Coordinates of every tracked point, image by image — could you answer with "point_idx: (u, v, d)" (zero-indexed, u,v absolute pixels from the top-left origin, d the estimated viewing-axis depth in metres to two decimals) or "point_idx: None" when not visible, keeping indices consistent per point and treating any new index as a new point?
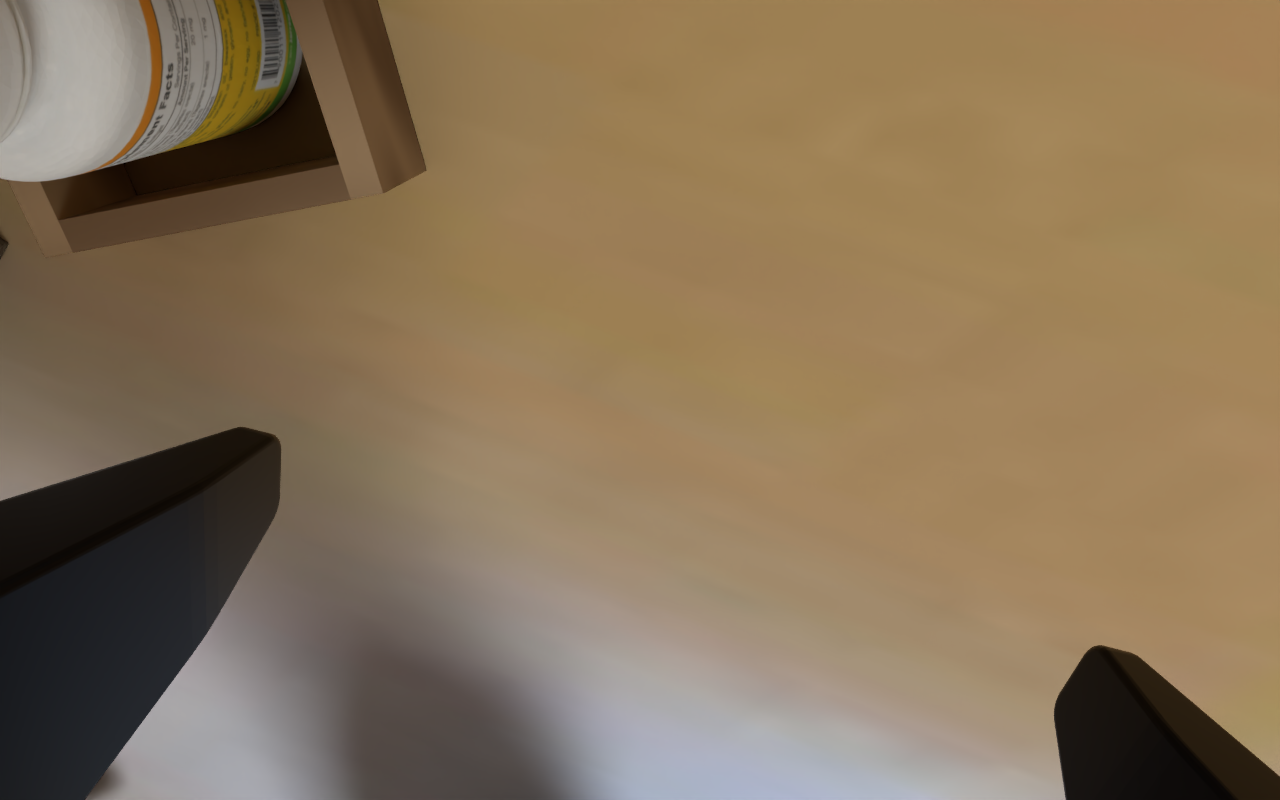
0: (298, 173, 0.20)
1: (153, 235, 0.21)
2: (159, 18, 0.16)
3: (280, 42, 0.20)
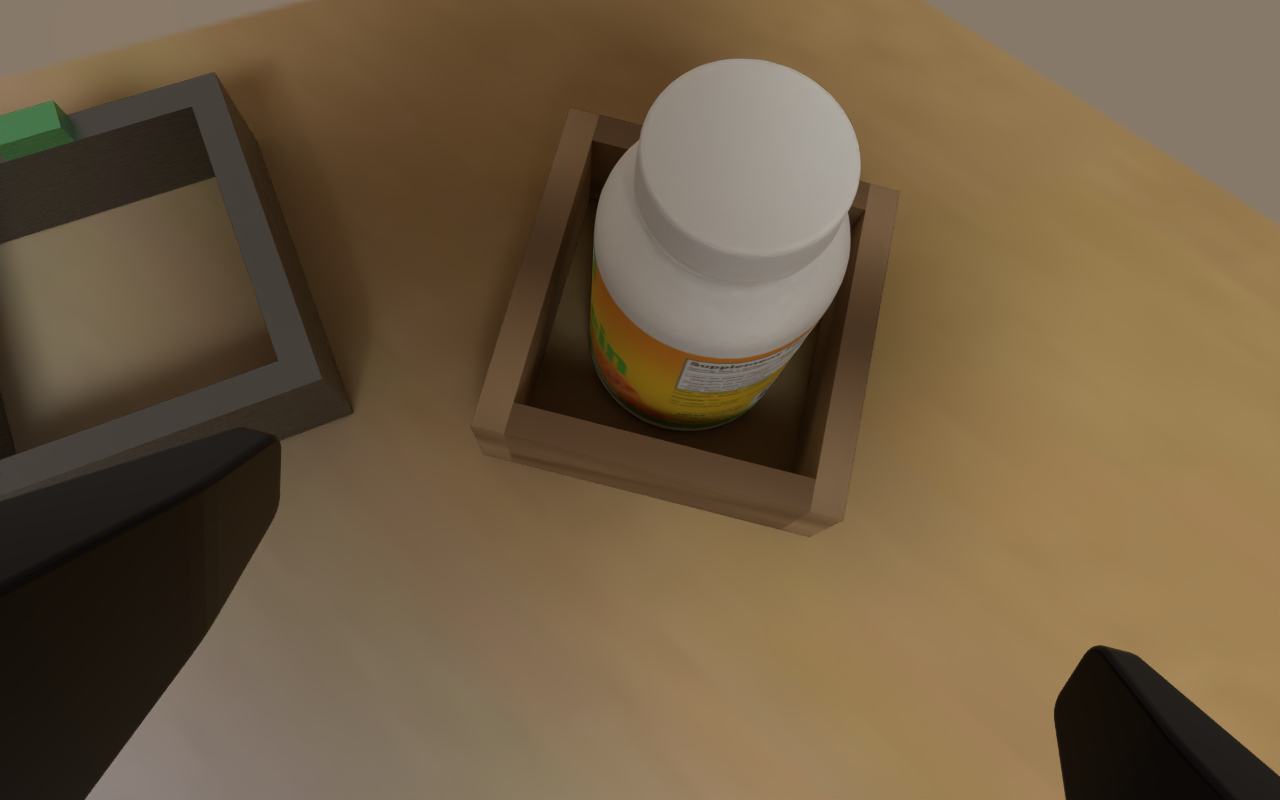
0: (774, 469, 0.20)
1: (598, 455, 0.20)
2: None
3: None
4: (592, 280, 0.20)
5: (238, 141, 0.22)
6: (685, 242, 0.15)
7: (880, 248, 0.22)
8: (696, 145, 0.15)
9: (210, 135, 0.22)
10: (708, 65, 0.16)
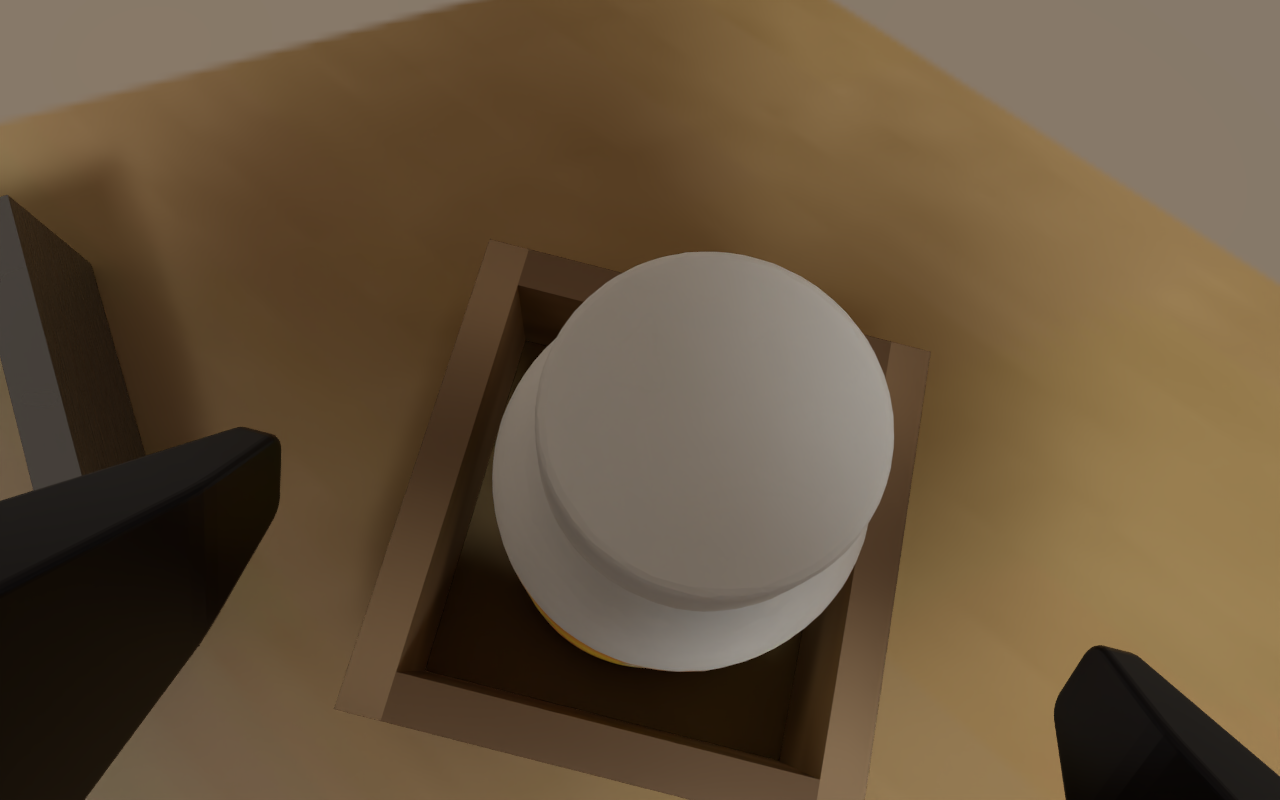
0: (761, 766, 0.15)
1: (513, 752, 0.14)
2: None
3: None
4: None
5: (33, 292, 0.16)
6: (609, 568, 0.09)
7: (905, 434, 0.16)
8: (628, 403, 0.09)
9: None
10: (651, 265, 0.10)
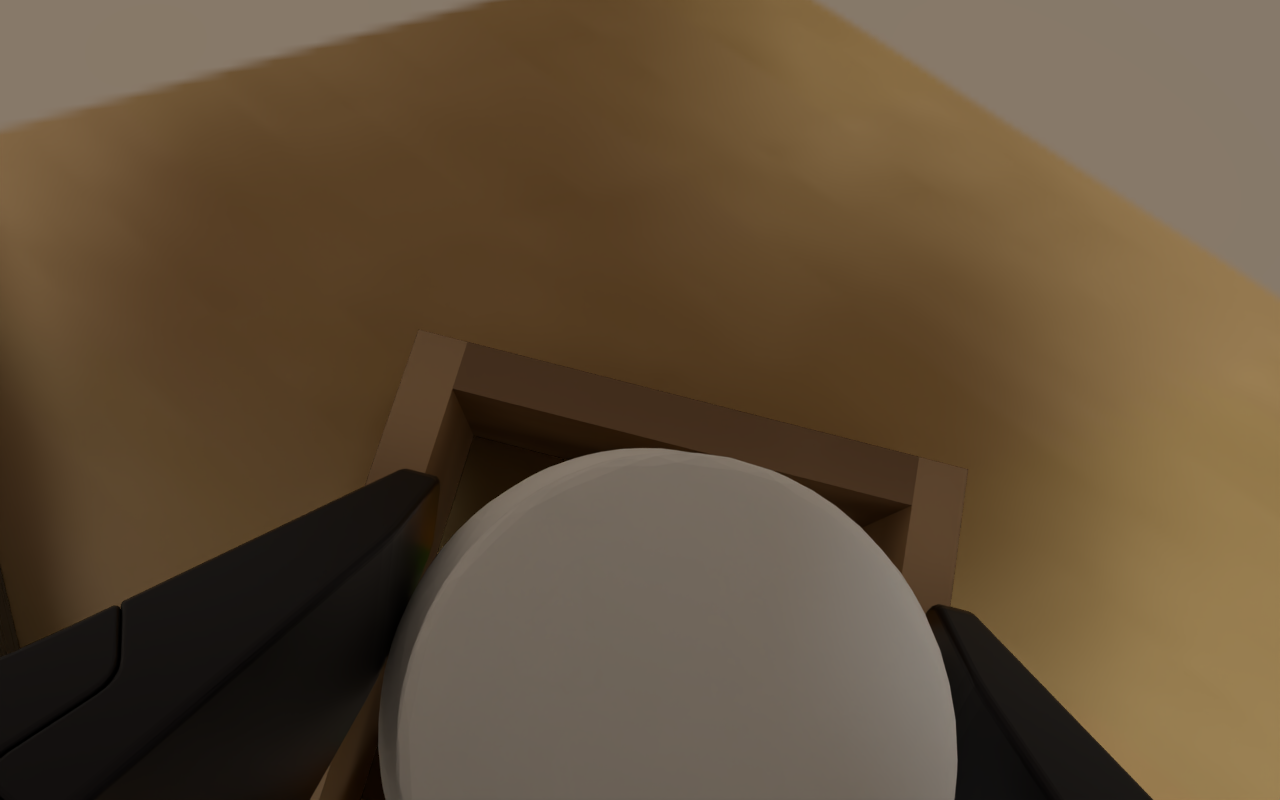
0: None
1: None
2: None
3: None
4: None
5: None
6: None
7: (938, 577, 0.13)
8: (542, 712, 0.06)
9: None
10: (583, 479, 0.06)
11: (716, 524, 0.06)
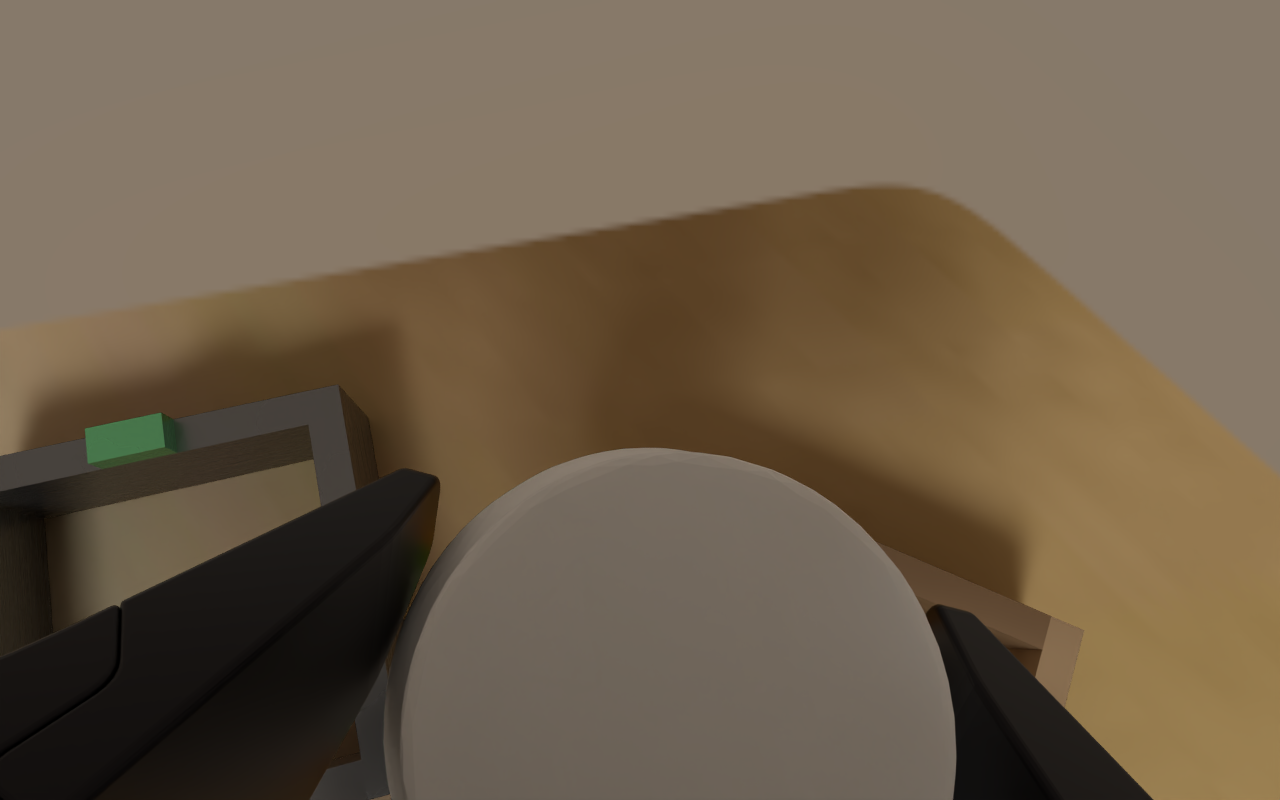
0: None
1: None
2: None
3: None
4: None
5: (352, 474, 0.20)
6: None
7: None
8: (545, 710, 0.06)
9: (323, 463, 0.20)
10: (585, 478, 0.06)
11: (716, 523, 0.06)
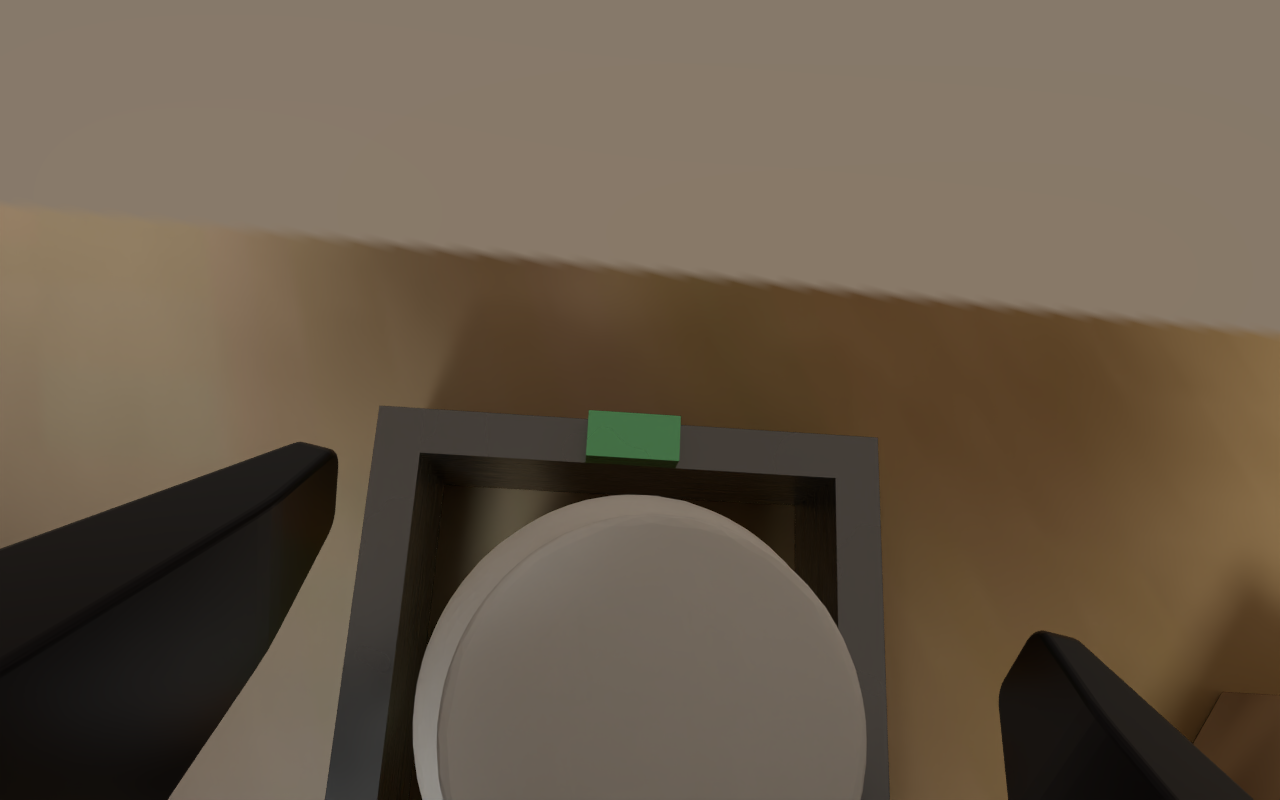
0: None
1: None
2: None
3: None
4: None
5: (880, 557, 0.15)
6: None
7: None
8: (547, 719, 0.08)
9: (847, 533, 0.15)
10: (579, 536, 0.08)
11: (682, 571, 0.08)
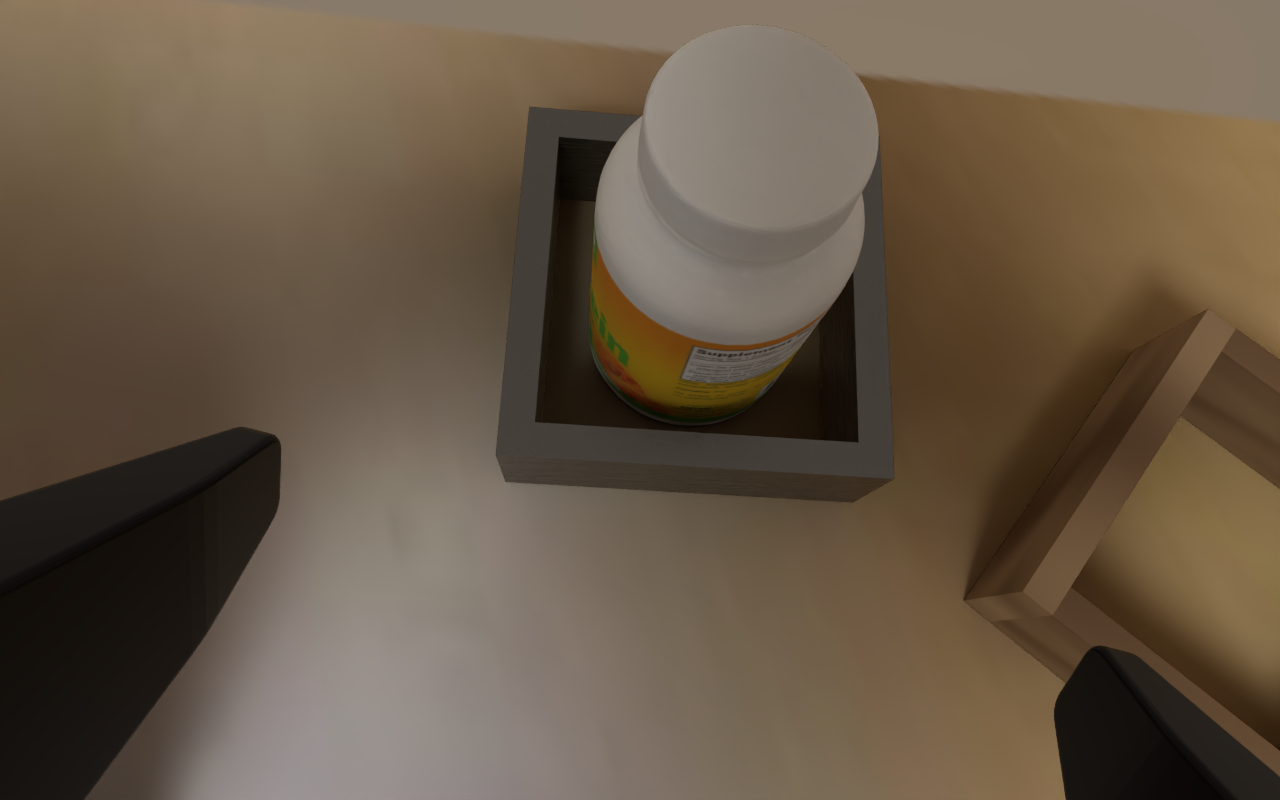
0: None
1: None
2: None
3: None
4: (592, 266, 0.19)
5: (881, 211, 0.22)
6: (694, 218, 0.14)
7: None
8: (704, 114, 0.14)
9: None
10: (716, 32, 0.15)
11: (774, 50, 0.15)
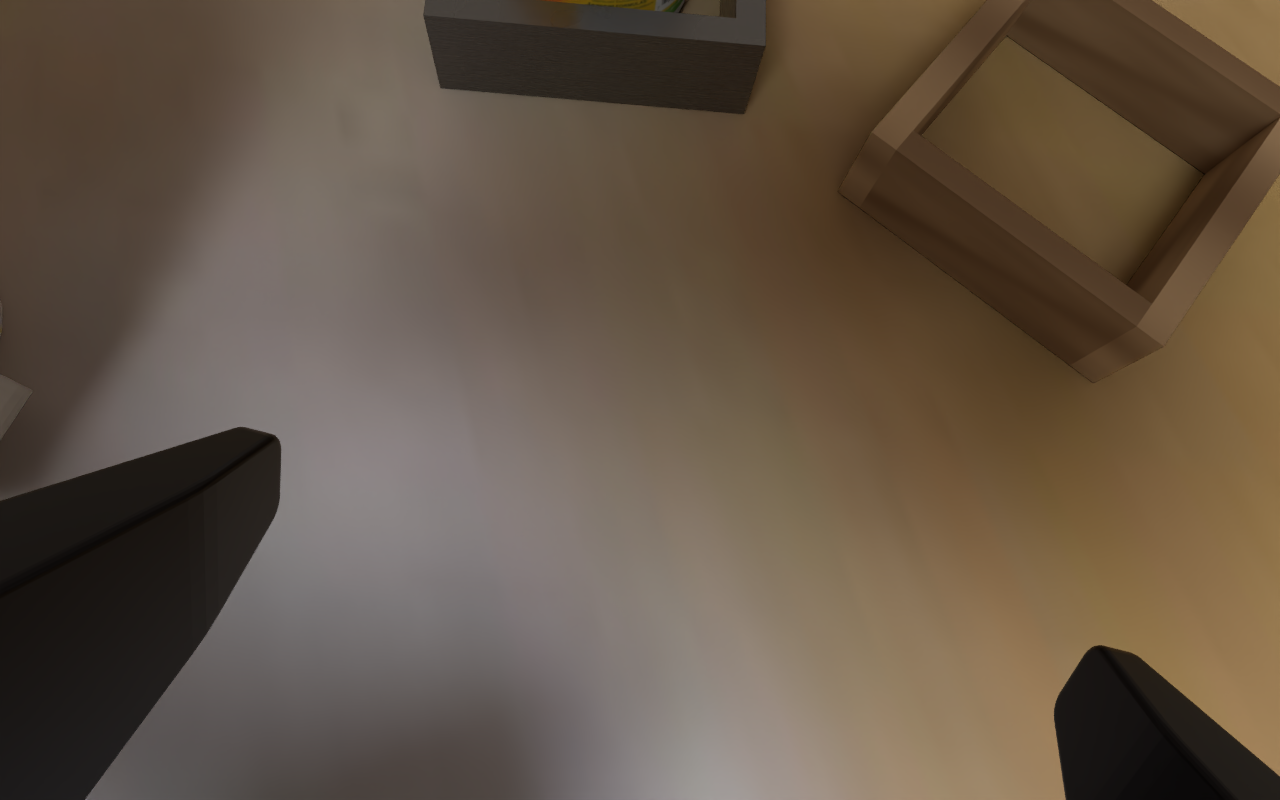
0: (1117, 279, 0.22)
1: (969, 201, 0.22)
2: None
3: None
4: None
5: None
6: None
7: None
8: None
9: None
10: None
11: None
